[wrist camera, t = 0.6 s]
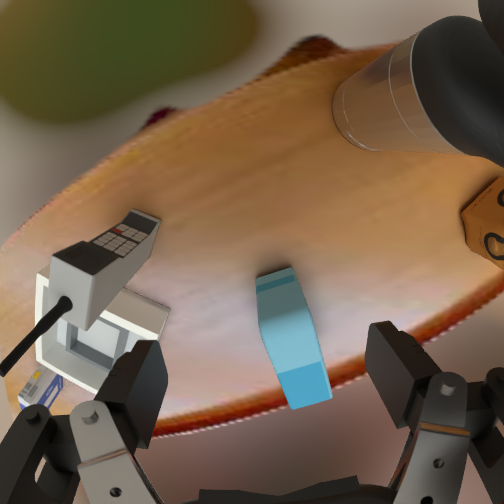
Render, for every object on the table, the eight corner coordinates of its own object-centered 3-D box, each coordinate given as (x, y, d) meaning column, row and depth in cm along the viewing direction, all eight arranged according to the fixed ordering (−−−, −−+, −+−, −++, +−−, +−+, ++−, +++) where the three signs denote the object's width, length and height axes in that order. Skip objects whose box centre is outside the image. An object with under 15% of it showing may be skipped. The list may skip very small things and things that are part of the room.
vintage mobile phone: (162, 219, 32) (17, 351, 9) (149, 257, 34) (29, 412, 10) (133, 207, 32) (-33, 312, 8) (123, 245, 33) (-18, 378, 10)
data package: (254, 274, 35) (258, 330, 23) (291, 262, 34) (311, 314, 23) (282, 350, 38) (293, 415, 27) (314, 340, 38) (334, 403, 27)
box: (61, 256, 34) (37, 272, 28) (170, 308, 36) (158, 334, 30) (53, 339, 38) (36, 360, 32) (144, 385, 41) (133, 411, 35)
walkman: (63, 387, 42) (36, 429, 30) (51, 380, 41) (23, 421, 30) (62, 360, 39) (29, 405, 28) (49, 353, 39) (15, 396, 28)
